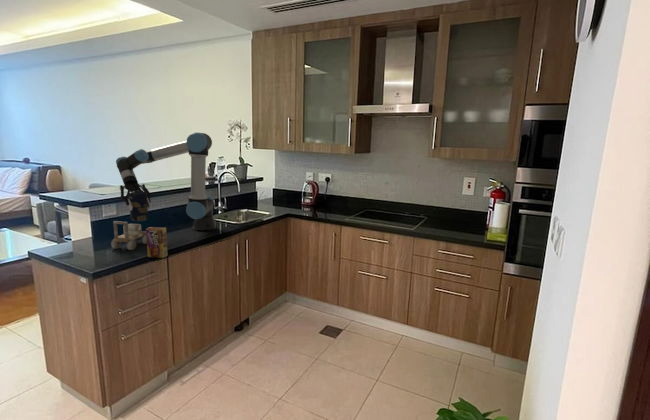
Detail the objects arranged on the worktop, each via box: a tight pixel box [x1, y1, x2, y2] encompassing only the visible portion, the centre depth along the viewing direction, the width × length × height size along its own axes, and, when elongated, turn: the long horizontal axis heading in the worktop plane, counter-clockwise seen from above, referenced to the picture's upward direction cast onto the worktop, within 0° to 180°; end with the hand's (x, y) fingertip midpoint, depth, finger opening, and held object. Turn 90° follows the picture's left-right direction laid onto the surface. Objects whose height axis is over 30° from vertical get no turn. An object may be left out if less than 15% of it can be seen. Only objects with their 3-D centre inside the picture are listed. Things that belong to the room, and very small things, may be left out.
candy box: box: [145, 226, 169, 259], centre depth 178 cm, size 9×4×15 cm, turn 86°
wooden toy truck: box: [110, 220, 147, 251], centre depth 193 cm, size 18×11×16 cm, turn 172°
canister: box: [128, 190, 149, 222], centre depth 206 cm, size 10×10×18 cm
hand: (140, 208), depth 204 cm, fingers closed on canister, 9 cm apart
